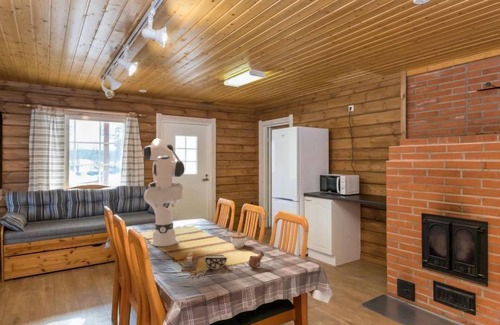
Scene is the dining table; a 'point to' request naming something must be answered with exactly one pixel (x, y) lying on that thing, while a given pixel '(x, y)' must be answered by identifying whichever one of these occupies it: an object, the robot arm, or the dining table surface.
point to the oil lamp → (255, 260)
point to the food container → (215, 261)
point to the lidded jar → (238, 239)
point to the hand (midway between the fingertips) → (164, 207)
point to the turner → (189, 261)
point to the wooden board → (189, 268)
